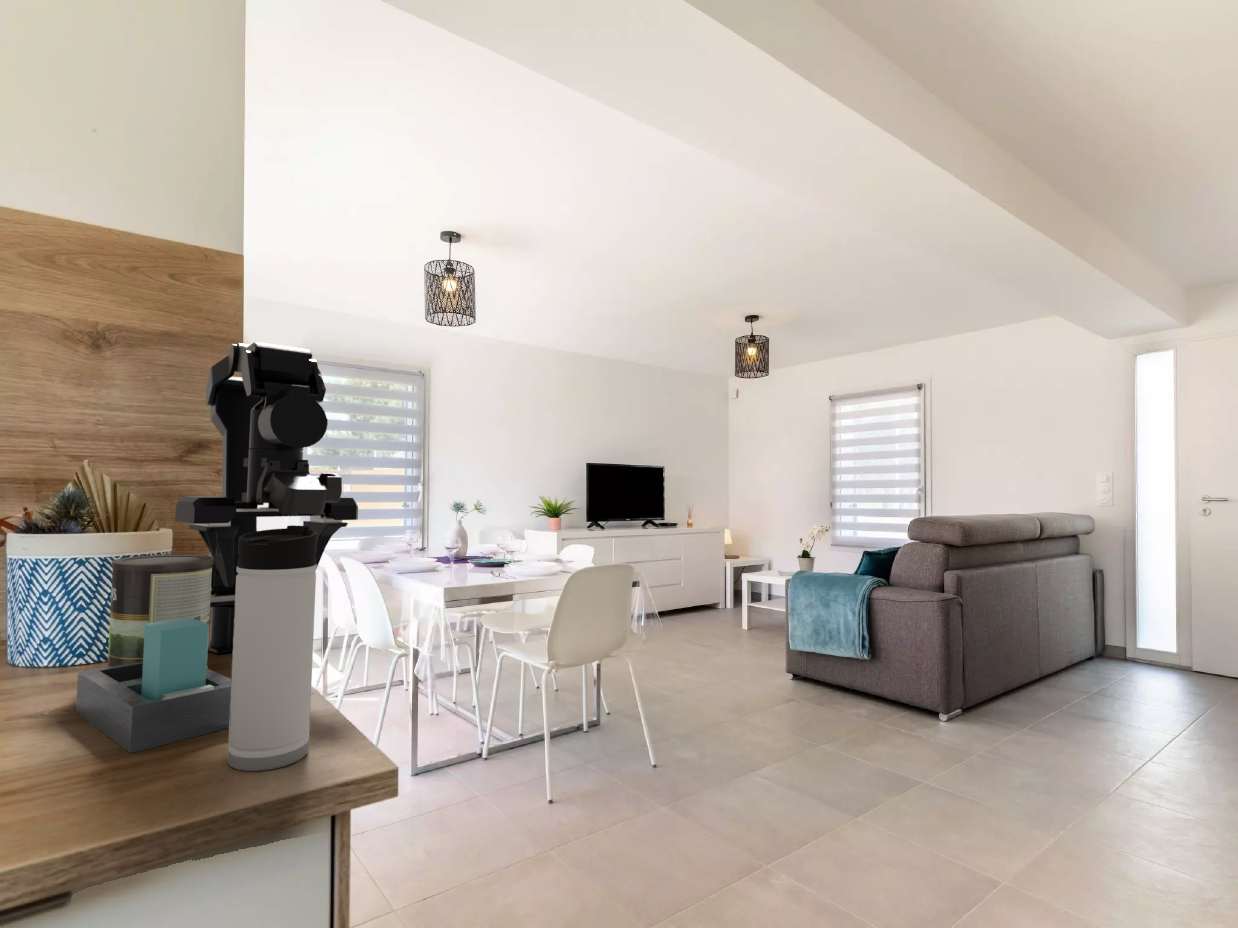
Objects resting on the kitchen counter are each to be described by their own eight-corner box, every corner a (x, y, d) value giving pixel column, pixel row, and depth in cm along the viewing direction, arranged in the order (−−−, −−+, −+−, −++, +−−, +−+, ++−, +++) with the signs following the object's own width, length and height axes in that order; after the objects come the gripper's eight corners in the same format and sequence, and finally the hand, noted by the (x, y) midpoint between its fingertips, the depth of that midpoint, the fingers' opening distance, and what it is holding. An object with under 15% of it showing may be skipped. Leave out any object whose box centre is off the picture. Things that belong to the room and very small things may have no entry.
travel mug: (324, 743, 60) (333, 526, 61) (280, 774, 54) (291, 531, 54) (260, 739, 61) (270, 524, 62) (209, 769, 54) (221, 528, 55)
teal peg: (139, 728, 63) (145, 623, 63) (186, 717, 66) (191, 617, 66) (155, 739, 60) (161, 630, 61) (203, 727, 64) (208, 623, 64)
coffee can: (90, 690, 73) (97, 564, 74) (123, 666, 83) (129, 554, 83) (197, 683, 77) (203, 563, 77) (216, 660, 87) (221, 553, 87)
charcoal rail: (75, 711, 67) (78, 668, 67) (176, 690, 74) (178, 652, 74) (130, 753, 57) (132, 703, 57) (239, 724, 64) (241, 680, 64)
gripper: (220, 444, 66) (212, 600, 65) (385, 454, 80) (380, 582, 80) (176, 445, 72) (169, 587, 72) (336, 455, 87) (331, 572, 87)
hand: (270, 582), depth 77 cm, fingers open, 9 cm apart
